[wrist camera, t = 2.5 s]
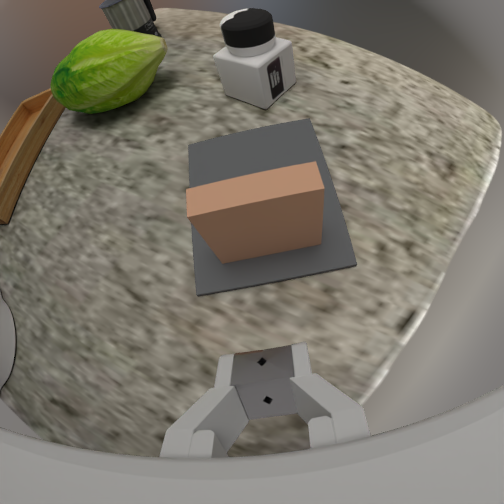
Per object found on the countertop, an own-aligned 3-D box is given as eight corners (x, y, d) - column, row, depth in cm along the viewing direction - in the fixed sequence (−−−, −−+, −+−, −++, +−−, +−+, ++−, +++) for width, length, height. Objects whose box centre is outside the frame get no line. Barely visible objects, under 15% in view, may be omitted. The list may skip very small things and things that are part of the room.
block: (222, 263, 31) (187, 217, 22) (219, 240, 32) (186, 187, 23) (321, 244, 30) (324, 188, 21) (315, 220, 31) (315, 159, 22)
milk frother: (160, 46, 53) (135, -7, 40) (96, 73, 55) (67, 26, 41) (164, 23, 59) (144, -23, 45) (108, 46, 60) (85, 5, 47)
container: (297, 82, 41) (288, 7, 29) (266, 111, 39) (249, 31, 27) (256, 69, 44) (240, 1, 32) (224, 95, 42) (200, 24, 30)
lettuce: (180, 50, 49) (180, 105, 45) (80, 89, 51) (68, 147, 47) (153, -7, 35) (145, 39, 31) (44, 47, 37) (19, 104, 33)
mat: (198, 296, 31) (196, 294, 31) (189, 147, 39) (188, 144, 39) (356, 265, 29) (356, 264, 29) (309, 121, 37) (309, 118, 37)
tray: (33, 114, 56) (20, 100, 51) (72, 99, 53) (60, 82, 48) (-22, 226, 45) (-40, 215, 40) (10, 226, 42) (-11, 211, 37)
